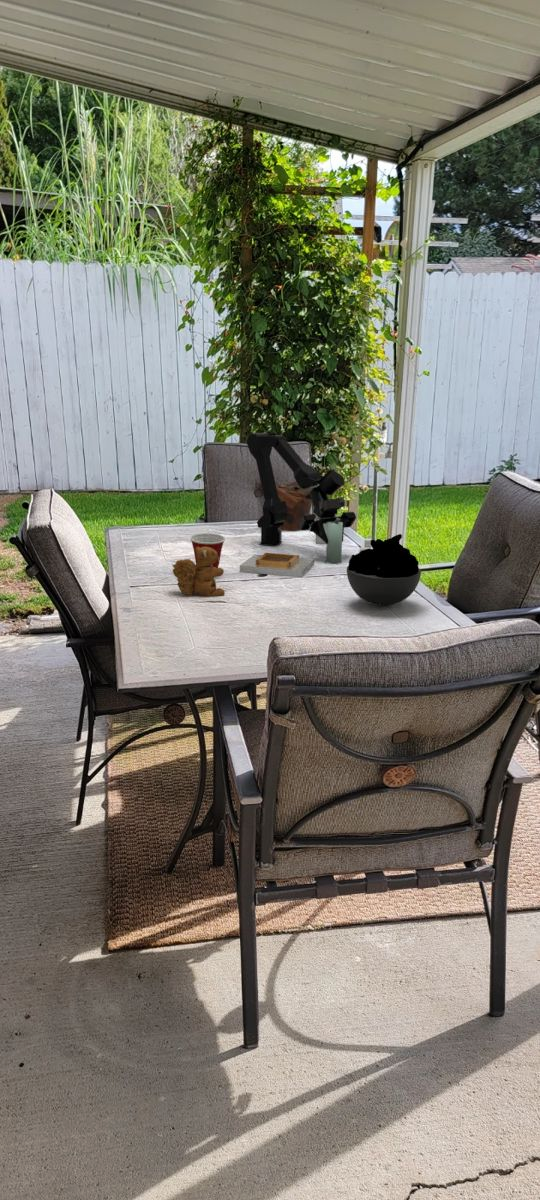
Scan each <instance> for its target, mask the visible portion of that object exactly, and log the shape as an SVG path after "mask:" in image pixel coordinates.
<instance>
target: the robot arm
mask: <svg viewBox="0 0 540 1200" xmlns="http://www.w3.org/2000/svg"><path fill="white" fill-rule="evenodd" d="M246 445H247V448H248V451H249V453H250V455H252V457H253V458H254V460H255V461H256V466H257V471H258V475H259V480H260V484H261V489H262V494H263V498H264V502H263V505H262V515H261V517H260V518H259V519H257V521H256V523H257V527H258V528H260V537H261V538H260V543H259V545H262V546H272V547H273V546H274V547H275V546H276V547H277V546H278V545H280V544H282V540H283V539H282V538H283V536H282V535H283V534H282V533H283V532H282V531H283V530H280V526H283V525H284V522H285V520H286V518H287V512H288V510H287V507H286V502H285V501H281V500H280V498H279V497H278V493H277V488H276V487H277V485H276V479H275V476H274V470H273V466H272V461H271V454H272V450H273V449H274V450H275V451H276V452H277V454H278V455H279V456H280V457H281V459H282V460H283V461H284V462H285V464H286V465H287V466H288V468H290V470H291V471H292V472H293V478H294V480H295V481H296V482H297V484H298V485H299V487H300V488H302V489H308V488H313V489H312V490H311V491H308V493H307V495H306V497H305V498H306V499H310V500H312V506H313V510H312V513H310V514H304V515H303V517H302V519H301V520H300V522H299V527H300V530H299V531H309V532H312V533H314V534H315V536H316V535H317V536H319V537H320V538H321V539H322V540H323V541H324V542H325V543H326V544H325V545H327V543H328V538H327V535H326V532H325V530H324V527H323V524H327V522H330V521H335V520H336V518H339V519H340V521H339V522H342V523H343V531H342V543H343V542H344V533H345V530H344V529H345V528H351V527H352V526H353V524H354V522H355V521H356V519H357V516H356V513H355V512H354V511H343V512H342V513H341V515H340V516H337V517H335V514H337V515H338V513H339V512H337V510H338V511H339V510H340V509H343V508H344V507H345V506H346V502H345V499H344V497H343V496H338V497H337V498H329V496H333V495H335V494H336V493H337V491H339V490H340V489H341V488H343V486H345V483H346V481H345V479H344V477H343V475H341V474H340V473H339V472H336V471H335V469H334V468H333V469H329V470H328V471H326V474H324V475H321V474H320V473H319V471H317V470H316V468H314V467H313V466H311V465H309V464H307V463H305V462H304V460H303V459H302V458H301V457H300V455H299V454H298V453H297V452H296V451H295V449H294V448H293V447H292V446H291V444H290V443H289V442H288V441H287V439H286V436H284V435H283V434H274V435H270V434H269V433H267V432H258V433H251V434H249V435H248V437H247V439H246ZM316 515H317V517H316Z"/></svg>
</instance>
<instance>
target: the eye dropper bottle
mask: <svg viewBox="0 0 540 1200" xmlns="http://www.w3.org/2000/svg"><path fill="white" fill-rule="evenodd" d="M371 540H373V539H372V538H371V534H368V535H367V537H366V538H364V545H363V546H361V547H359V551H358V553H359V552H360V551H362V550H365V549H373V548H372V546H371Z"/></svg>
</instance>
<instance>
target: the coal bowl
mask: <svg viewBox="0 0 540 1200" xmlns="http://www.w3.org/2000/svg"><path fill="white" fill-rule="evenodd" d="M402 538H403V535H402V533H398V534H396V535H394V536H392V537H390V538H387V539H384V540H382V539H381V538H377V539H376V540H375V539H372V540H371V546H372V548H373V549H365V550H362V551H360V552H359V551H358V553H356V554H352V555H351V556H350V558H349V560H348V566H347V567H346V577H347V580H348V582H349V586H350V587H351V589H352V590H353V592H354V593H355V594H356V595H357V596H358V598H360V599H361V600H363V601H365V602H366V603H368V604H371V605H374V606H378V607H389V606H394V605H397V604H399V603H401V602H404V601H405V600H407V598H409V597H410V596H411V595H412V594H413V592H414V591H415V590H416V588H417V587H418V585H419V582H420V579H421V576H422V570H421V569H420V567H419V564H420V562H419V560H418V559H417V557H416V556H415V555H414V554H411V550H410V548H409V549H408V548H406V547H404V546H403V545H402V544H400V542H401V539H402Z"/></svg>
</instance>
